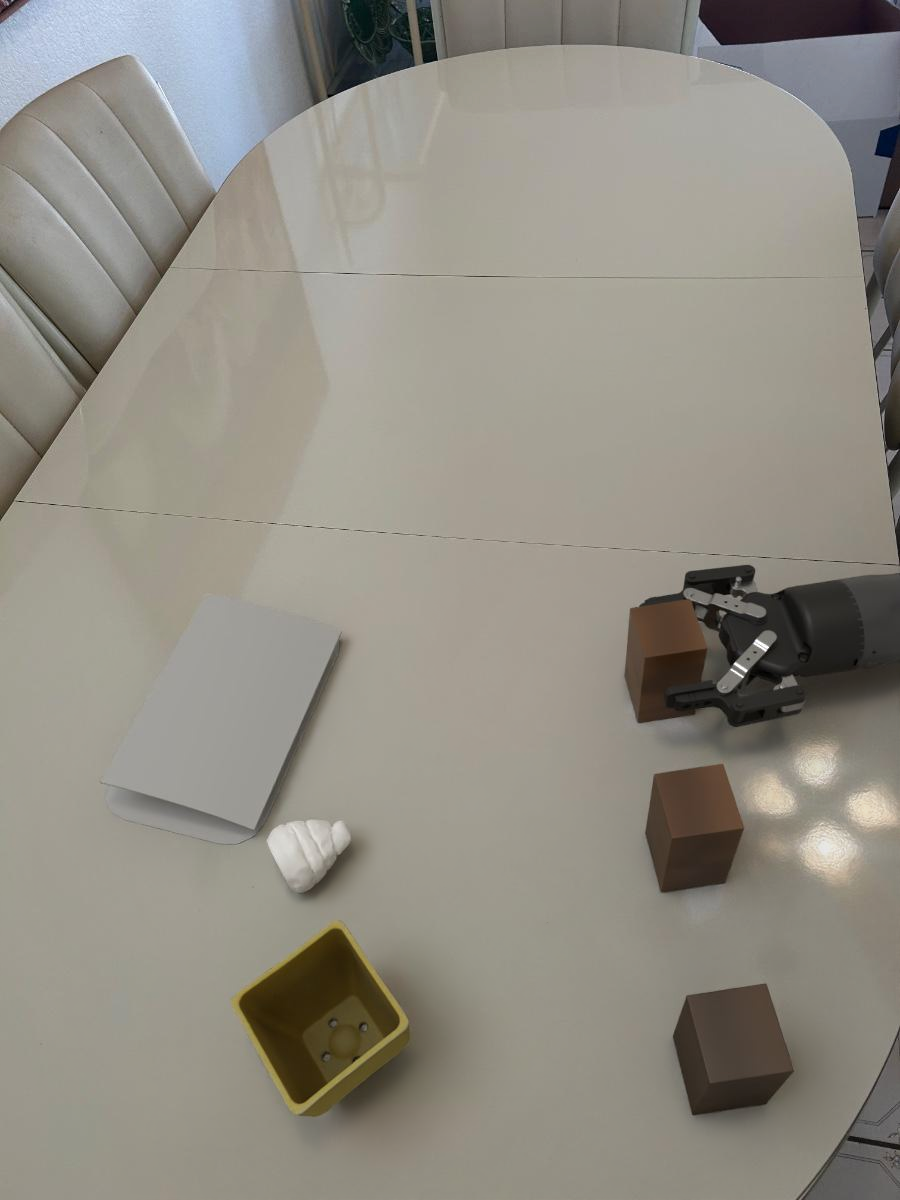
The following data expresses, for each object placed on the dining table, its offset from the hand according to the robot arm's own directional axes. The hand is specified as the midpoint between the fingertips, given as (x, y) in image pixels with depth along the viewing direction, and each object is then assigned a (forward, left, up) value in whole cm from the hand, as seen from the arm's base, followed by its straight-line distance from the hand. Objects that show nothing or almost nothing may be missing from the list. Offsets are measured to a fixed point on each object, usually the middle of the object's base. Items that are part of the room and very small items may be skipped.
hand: (652, 655), depth 77 cm
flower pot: (+25, +28, -7) cm, 38 cm away
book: (+38, 0, -7) cm, 38 cm away
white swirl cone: (+28, +14, -7) cm, 32 cm away
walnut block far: (-1, 0, -7) cm, 7 cm away
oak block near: (-1, +30, -7) cm, 31 cm away
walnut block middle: (-1, +15, -7) cm, 16 cm away
